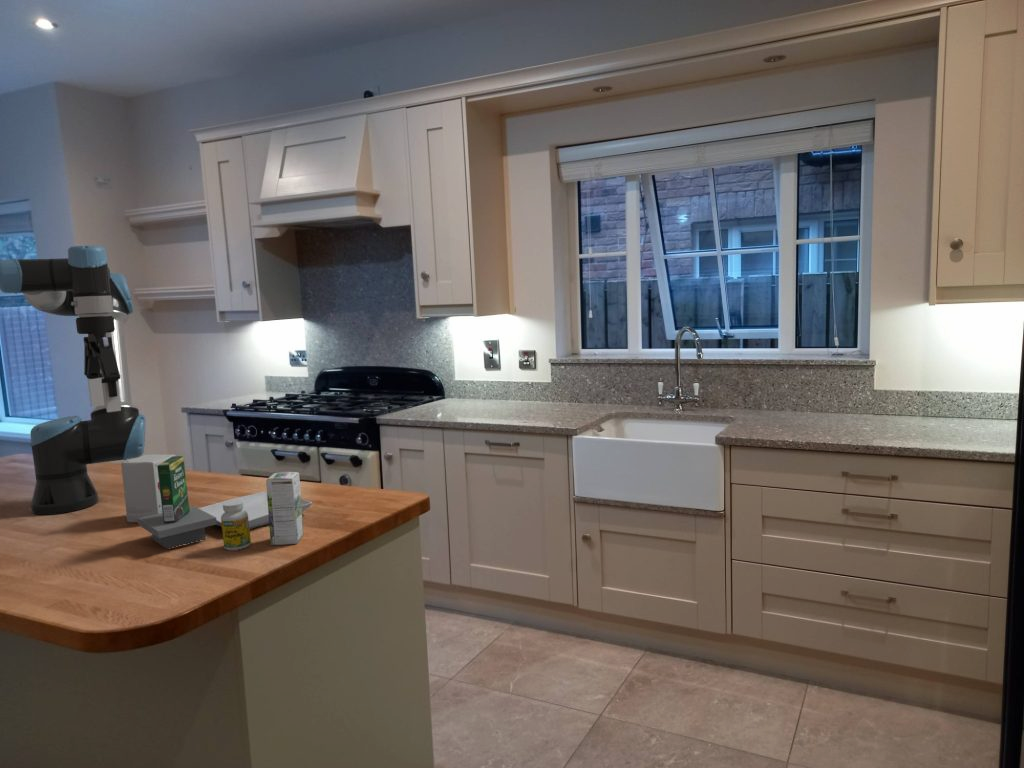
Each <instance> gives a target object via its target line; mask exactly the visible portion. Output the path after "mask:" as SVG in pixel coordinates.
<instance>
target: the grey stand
mask: <svg viewBox="0 0 1024 768" xmlns="http://www.w3.org/2000/svg"><path fill="white" fill-rule="evenodd" d="M199 508H200V507H196V506H194V505H191V506H190V505H189V509H190V512H189V513H187V514H186V515H185V516H183V517H182V518H181V519H180V520H178V521H177V522H176V523H164V520H163V513H159V514H155V515H150V516H146V517H142V518H138V522H137V523H138V526H140V527H141V528H142V529H144V530H146V531H147V532H149V533H150V534H151V537H152V541H154V542H155V541H156V543H157V542H158V543H159V544H158V543H157V544H158V545H160V544H161V545H162V546H161V545H160V546H161V547H163V546H164V547H165V548H164V547H163V548H164V549H166V548H167V549H169V548H172V547H176V546H179V545H183V544H188V543H191V542H196V541H200V540H204V541H206V540H207V539H206V529H205V528H207V527H212V526H215V525H216V524H217V521H216V517H214V516H212V515H210V514H208V513H206V512H204V511H202V510H200V509H199ZM216 526H217V525H216ZM205 539H206V540H205ZM200 542H201V541H200ZM196 543H197V542H196ZM188 545H189V544H188ZM167 549H166V550H167ZM169 550H170V549H169Z"/></svg>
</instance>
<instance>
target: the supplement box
mask: <svg viewBox="0 0 1024 768" xmlns="http://www.w3.org/2000/svg"><path fill="white" fill-rule="evenodd" d="M172 456H177V455H176V454H172V453H171V454H142V455H141V456H140V457H137V458H131V459H127V460H124V461H122V462H121V464H120V465H121V472H122V473H121V474H122V484H123V492H124V494H123V495H124V503H125V513H126V523H138V518H142V517H146V516H150V515H155V514H159V513H162V504H161V494H160V485H159V477H158V468H157V466H158V465H159V464H161V463H163V462H164V461H166V460H168V459H169V458H171V457H172Z"/></svg>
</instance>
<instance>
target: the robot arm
mask: <svg viewBox="0 0 1024 768" xmlns="http://www.w3.org/2000/svg"><path fill="white" fill-rule="evenodd" d="M106 251H107V250H106V249H105V248H104V247H103V246H101V245H75V246H74V245H73V246H70V247H69V248H68V249H67V258H62V257H61V258H30V259H29V258H21V259H18V258H12V259H0V291H1V292H2V293H4V294H16V295H17V294H23V295H24V298H25V300H26V302H27V303H28V304H29V305H30V306H31V307H33V308H34V309H36V310H37V311H40V312H43V313H47V314H51V315H56V316H62V317H63V316H64V317H76V319H75V325H76V332H77V334H79V335H87V336H84V337H83V345H84V347H83V348H84V356H83V357H84V360H83V363H84V368H83V369H84V372H83V374H84V376H85V377H86V379H87V384H88V385H87V386H88V393H89V401H90V407H91V408H94V409H93V410H91V412H90V419H88V420H82V418H81V416H80V415H72V416H64V417H59V418H55V419H52V420H48V421H44V422H40V423H38V424H36V425H35V426H33V427H32V428H31V430H30V433H29V434H30V447H31V451H32V459H33V466H34V474H35V486H34V491H33V495H32V499H31V503H30V505H31V506H30V507H31V512H32V513H33V514H34V515H55V514H56V515H57V514H65V513H69V512H70V513H71V512H76V511H79V510H82V509H85V508H86V509H87V508H89V507H92V506H94V505H95V504H97V503H99V493H98V492H97V491H98V490H97V489H96V487H95V486H94V485H95V484H94V483H93V482H92V480H91V478H90V476H89V473H88V465H94V464H100V463H109V462H116V461H128V460H131V459H134V458H137V457H140V456H143V455H144V453H145V452H144V451H145V445H146V444H145V443H146V415H145V414H142V413H140V412H139V411H140V410H139V407H137V406H135V405H134V404H132V403H133V402H132V393H131V384H130V375H129V366H128V357H127V356H128V355H127V348H126V338H125V330H124V328H125V327H124V324H126V322H128V321H129V317H130V316H129V315H130V314H133V313H134V306H133V302H132V298H131V293H130V289H129V285H128V283H127V279H126V277H125V276H124V275H123V274H122V273H117V272H115V273H113V272H111V271H110V268H109V266H108V257H107V252H106Z"/></svg>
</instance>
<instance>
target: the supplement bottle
mask: <svg viewBox="0 0 1024 768" xmlns="http://www.w3.org/2000/svg"><path fill="white" fill-rule="evenodd" d="M243 507H244V506H243V501H240V500H236V501H229V502H226V503H224V504H223V510H224V511H225V513H223V514H222V516H221V523H222V527H221V532H222V538H223V547H224V549H225V550H226V549H227V551H238V550H237V549H240V550H243V549H242V548H244V549H246V547H247V548H248V547H250V546H251V543H252V540H251V531H250V530H251V529H249V520H248V513H247V512H246V511H245V510H243Z"/></svg>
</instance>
